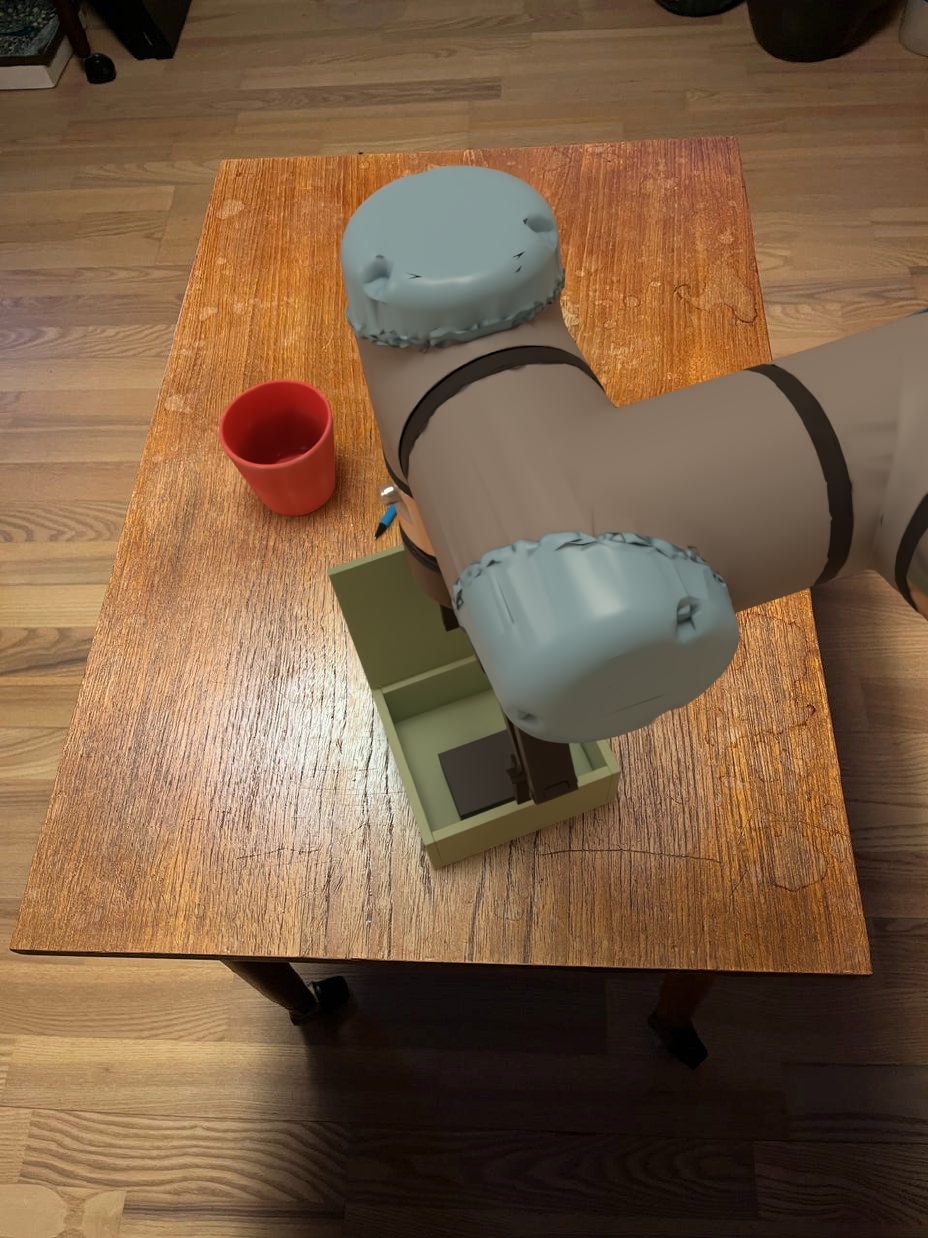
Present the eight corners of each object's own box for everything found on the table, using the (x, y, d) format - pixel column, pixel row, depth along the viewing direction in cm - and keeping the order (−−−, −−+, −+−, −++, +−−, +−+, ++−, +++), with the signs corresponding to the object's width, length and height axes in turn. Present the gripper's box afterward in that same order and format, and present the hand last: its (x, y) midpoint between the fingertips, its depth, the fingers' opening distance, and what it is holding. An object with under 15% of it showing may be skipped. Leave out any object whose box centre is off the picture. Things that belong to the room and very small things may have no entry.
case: (615, 800, 73) (621, 771, 67) (434, 870, 72) (424, 845, 66) (550, 662, 80) (550, 624, 74) (383, 722, 78) (370, 688, 72)
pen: (466, 407, 96) (465, 399, 95) (379, 542, 88) (377, 536, 87) (458, 404, 96) (457, 397, 95) (371, 539, 88) (369, 533, 87)
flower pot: (368, 459, 93) (351, 392, 85) (321, 542, 88) (298, 479, 80) (278, 434, 96) (253, 366, 87) (227, 513, 91) (196, 449, 83)
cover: (545, 501, 62) (541, 496, 62) (328, 575, 60) (326, 569, 61) (552, 625, 74) (549, 619, 74) (370, 689, 72) (368, 683, 72)
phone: (567, 789, 73) (568, 776, 71) (463, 828, 72) (460, 816, 70) (542, 730, 76) (542, 716, 73) (441, 767, 75) (437, 753, 72)
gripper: (329, 358, 48) (388, 577, 67) (496, 767, 36) (513, 899, 54) (461, 317, 49) (484, 544, 67) (669, 702, 37) (628, 854, 55)
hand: (497, 702), depth 61 cm, fingers open, 13 cm apart
